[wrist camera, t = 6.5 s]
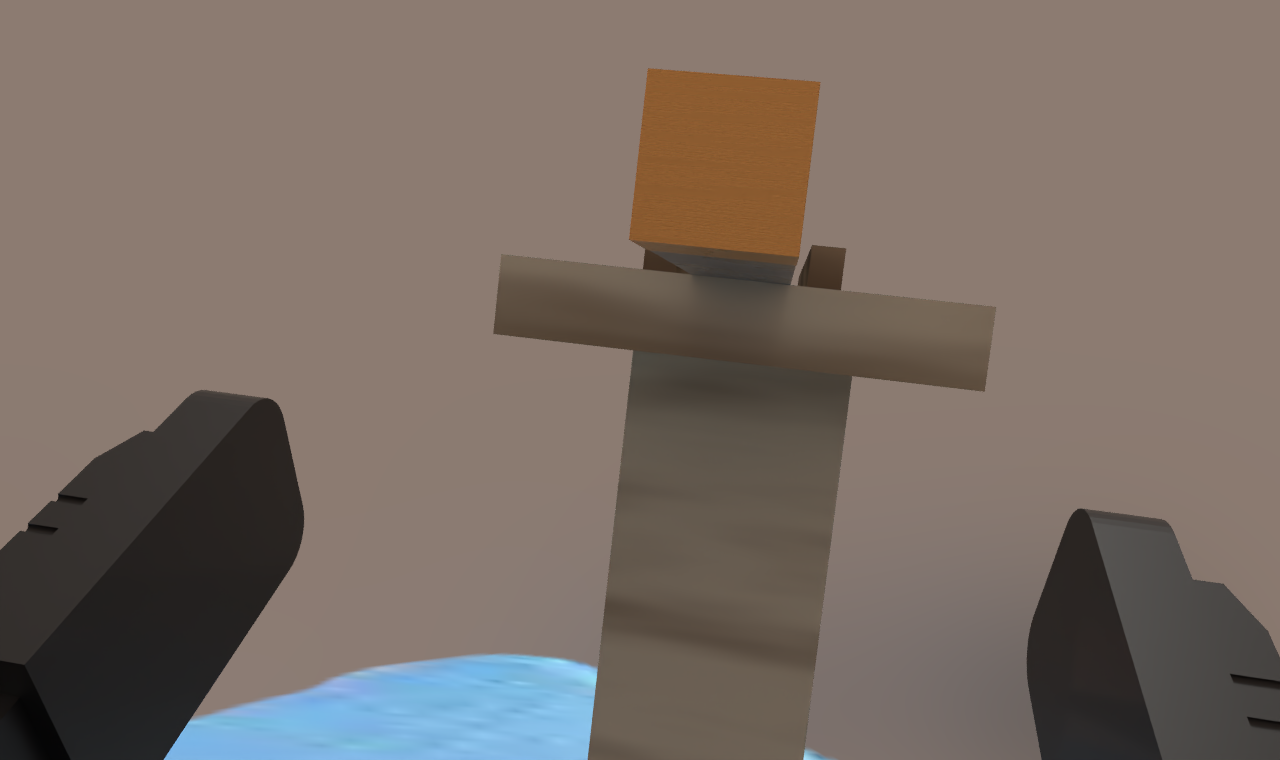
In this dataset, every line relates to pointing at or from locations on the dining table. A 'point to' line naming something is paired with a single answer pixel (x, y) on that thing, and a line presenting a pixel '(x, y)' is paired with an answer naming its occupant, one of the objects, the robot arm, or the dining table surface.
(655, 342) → the stand
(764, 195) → the bar
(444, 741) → the dining table surface
